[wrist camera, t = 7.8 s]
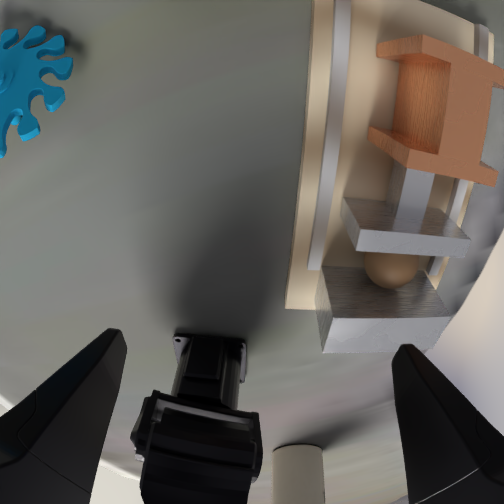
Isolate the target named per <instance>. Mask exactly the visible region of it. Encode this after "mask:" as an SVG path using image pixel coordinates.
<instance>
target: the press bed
mask: <svg viewBox="0 0 504 504" xmlns="http://www.w3.org/2000/svg"><path fill="white" fill-rule="evenodd" d="M422 34H423V35H426V36H429V37H432V38H435V39H437V40H440V41H443V42H445V43H448V44H450V45H453V46H455V47H457V48H460V49H462V50H464V51H467V52H469V53H471V54H473V55H475V56H478V57H480V58H482V59H484V60H486V61H488V62H490V63H492V64H493V56H494V34H492V33H490V32H489V28H487V27H485V26H483V25H481V24H473V23H471V22H469V21H467V20H465V19H463V18H461V17H458V16H456V15H454V14H452V13H449V12H447V11H445V10H442V9H440V8H437V7H435V6H432V5H430V4H427V3H424V2H422V1H419V0H312V9H311V31H310V49H309V66H308V81H307V95H306V108H305V120H304V131H303V143H302V153H301V164H300V174H299V184H298V193H297V202H296V211H295V220H294V229H293V237H292V245H291V253H290V261H289V269H288V276H287V284H286V291H285V309H306V310H316V308H315V302H314V298H315V293H316V288H317V284H318V279H319V274H320V269H321V265H324V266H343V267H363V268H365V266H364V253H365V251H356V250H355V248H354V246H353V243H352V241H351V239H350V237H349V235H348V232H347V230H346V228H345V226H344V224H343V221H342V219H341V217H340V211H341V205H342V199H343V197H350V198H359V199H369V200H377V201H386V198H387V194H388V189H389V184H390V180H391V175H392V169H393V164H394V158H392V157H391V156H390V155H388V154H387V153H386V152H384V151H383V150H382V149H380V148H379V147H377V146H376V145H375V144H373V143H372V142H370V141H369V140H367V136H368V129H369V126H374V127H380V128H385V129H391V130H392V124H393V117H394V109H395V101H396V92H397V83H398V72H399V63H398V62H394V61H390V60H386V59H382V58H378V57H376V48H377V44H378V43H382V42H386V41H391V40H396V39H400V38H405V37H410V36H416V35H422ZM473 184H474V182H472V181H468V180H463V179H459V178H454V177H450V176H445V175H440V174H435V176H434V180H433V184H432V188H431V192H430V196H429V200H428V204H427V207H431V208H438V209H441V210H442V211H443V212H444V213H446V214H447V215H448V216H449V217H450V218H451V219H452V220H453V221H454V222H455V223H456V224H457V225H458V226H459V228H460V227H461V224H462V221H463V218H464V214H465V211H466V208H467V205H468V201H469V198H470V194H471V191H472V187H473ZM448 260H449V257H441V256H427V255H419V267H418V270H424V272H425V274H426V275H427V277H428V278H429V280H430V282H431V283H432V285H433V287H434V288H435V290H436V288H437V286H438V284H439V282H440V279H441V277H442V275H443V272H444V270H445V267H446V265H447V262H448Z"/></svg>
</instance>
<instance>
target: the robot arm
mask: <svg viewBox="0 0 504 504" xmlns="http://www.w3.org/2000/svg"><path fill="white" fill-rule="evenodd" d="M173 344H174V349H175V354H176V358H177V363H178V367H177V371H176V375H175V379H174V383H173V387H172V391H171V395H168V394H164V393H161V392H160V391H157V390H153V393H152V395H151V397H145V398H144V402H143V405H142V409H141V412H140V415H139V417H138V419H137V421H136V423H135V426H134V428H133V430H132V432H131V436H130V439H131V441H132V443H133V444H134V446H135V449H134V450H135V451H136V454H135V459H136V460H137V461H141V462H144V463H143V468H142V474H141V479H140V490H141V496H142V499H143V501H144V504H247V500H248V493H249V489H250V485H251V483H254V482H255V481H256V480H257V478H258V476H259V474H260V470H261V466H262V459H263V447H262V439H261V430H260V422H259V413H257V412H245V411H239V410H237V406H238V394H239V383H244V382H245V365H246V341H245V340H243V339H235V338H221V337H209V336H198V335H188V334H179V333H177V334H174V336H173ZM240 344H241V345H240ZM126 354H127V345H126V342H125V340H124V337H123V334H122V332H121V330H119V329H114V328H108V329H107V330H105V331H104V332H103V333H102V334H100V335H99V336H98V337H97V338H96V339H94V340H93V341H92V342H91V343H90V344H88V345H87V346H86V347H85V348H84V349H82V350H81V351H80V352H79V353H78V354H76V355H75V356H74V357H73V358H72V359H70V360H69V361H68V362H67V363H66V364H64V365H63V366H62V367H61V368H60V369H59V370H57V371H56V372H55V373H54V374H53V375H51V376H50V377H49V378H48V379H47V380H46V381H44V382H43V383H42V384H41V385H40V386H39V387H37V388H36V390H34V391H33V392H32V393H30V394H29V395H28V396H27V397H26V398H25V399H23V400H22V401H21V402H20V403H18V404H17V405H16V406H15V407H13V408H12V409H11V410H9V411H8V412H6V413H5V414H4V415H2V416H1V417H0V504H89V502H90V498H91V493H92V488H93V484H94V480H95V475H96V472H97V467H98V464H99V460H100V456H101V452H102V448H103V444H104V441H105V437H106V434H107V430H108V426H109V423H110V420H111V416H112V413H113V409H114V406H115V403H116V400H117V396H118V393H119V388H120V384H121V378H122V373H123V368H124V364H125V359H126ZM392 375H393V385H394V397H395V406H396V412H397V418H398V424H399V429H400V436H401V442H402V448H403V455H404V463H405V471H406V479H407V489H408V499H409V504H504V436H503V435H502V434H501V433H500V432H499V431H498V430H496V429H495V428H494V427H493V426H492V425H491V424H490V423H489V422H488V421H487V419H486V418H485V417H484V416H483V415H482V414H481V413H480V412H479V411H477V409H476V408H475V407H474V406H473V405H472V404H471V403H470V402H469V400H468V399H467V398H466V397H465V396H464V395H463V394H462V393H461V392H460V391H459V390H458V389H457V388H456V387H455V386H454V385H453V384H452V383H451V382H450V381H449V380H448V379H447V378H446V377H445V376H444V374H443V373H442V372H441V371H439V369H438V368H437V367H436V366H434V364H433V363H432V362H431V361H430V360H429V359H428V358H427V357H426V356H425V355H424V354H423V353H422V352H421V351H420V350H419V349H418V348H417V347H416V346H415V345H413V344H401V345H400V346H399V348H398V350H397V352H396V354H395V356H394V358H393V360H392Z"/></svg>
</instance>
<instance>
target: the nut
mask: <svg viewBox="0 0 504 504" xmlns="http://www.w3.org/2000/svg"><path fill="white" fill-rule="evenodd" d="M364 266H365V270H366V272H367V274H368V276H369V277H370V279H371V280H372V281H373V282H374V283H375V284H377V285H379V286H381V287H383V288H387V289H396V288H400V287H402V286H404V285H406V284H407V283H409V282H410V281H411V280H412V279H413V277H414V276H415V274H416V272H417V270H418V267H419V255H412V254H397V253H381V252H366V251H365V253H364Z"/></svg>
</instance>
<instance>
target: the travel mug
mask: <svg viewBox="0 0 504 504" xmlns="http://www.w3.org/2000/svg"><path fill="white" fill-rule="evenodd" d="M271 504H325V489H324V472H323V457H322V449H321V448H319V447H316V446H313V445H307V444H298V445H289V446H284V447H281V448H279V449H277V450H275V451H274V452H273V453H272V480H271Z"/></svg>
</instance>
